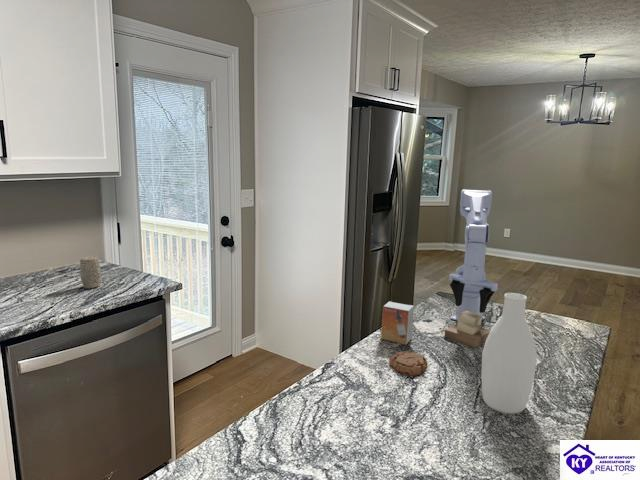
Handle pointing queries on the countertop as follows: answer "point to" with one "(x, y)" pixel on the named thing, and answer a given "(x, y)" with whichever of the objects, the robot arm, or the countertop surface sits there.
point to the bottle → (509, 359)
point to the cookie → (408, 363)
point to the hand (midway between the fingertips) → (470, 308)
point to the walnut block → (467, 336)
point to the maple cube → (469, 322)
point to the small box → (397, 322)
